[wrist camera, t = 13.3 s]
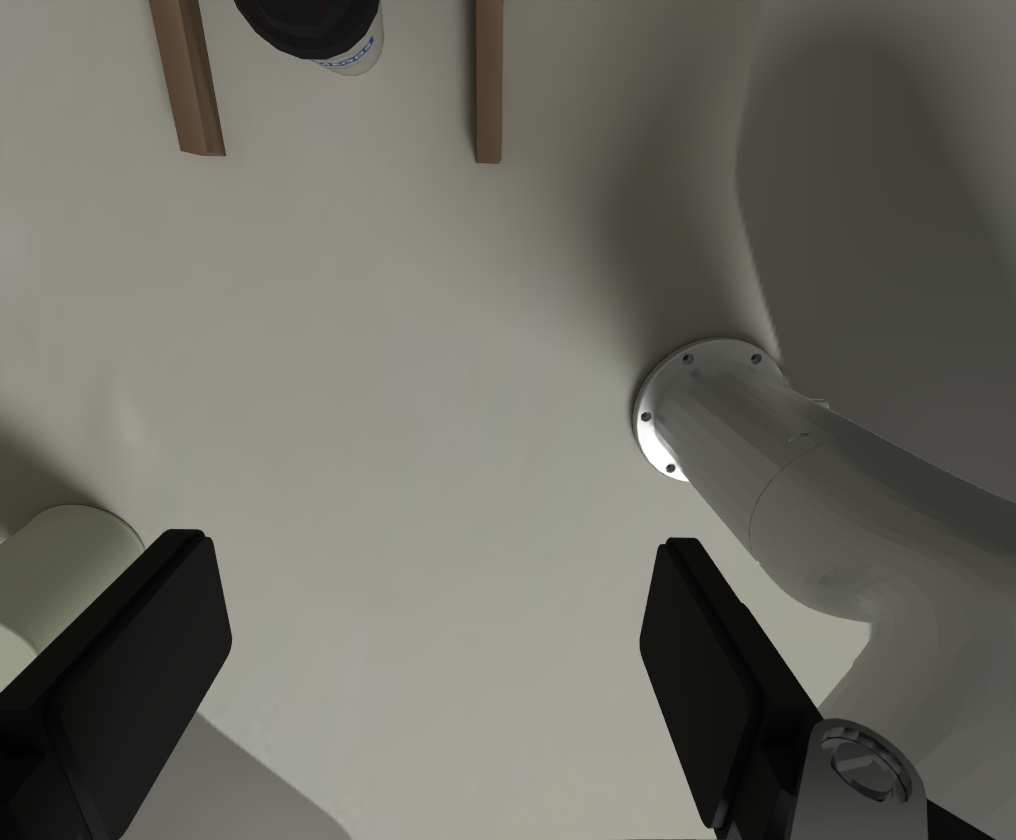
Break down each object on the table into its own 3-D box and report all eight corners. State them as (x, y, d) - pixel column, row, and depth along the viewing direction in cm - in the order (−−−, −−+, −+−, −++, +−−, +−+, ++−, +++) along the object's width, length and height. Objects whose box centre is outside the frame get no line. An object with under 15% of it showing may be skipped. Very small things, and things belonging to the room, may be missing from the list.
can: (29, 583, 43) (-123, 713, 32) (23, 493, 39) (-149, 602, 28) (146, 601, 44) (40, 729, 33) (148, 516, 41) (32, 627, 30)
